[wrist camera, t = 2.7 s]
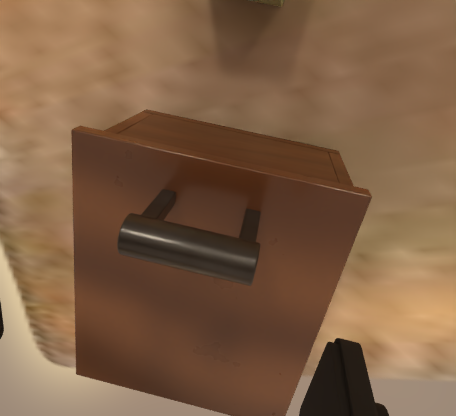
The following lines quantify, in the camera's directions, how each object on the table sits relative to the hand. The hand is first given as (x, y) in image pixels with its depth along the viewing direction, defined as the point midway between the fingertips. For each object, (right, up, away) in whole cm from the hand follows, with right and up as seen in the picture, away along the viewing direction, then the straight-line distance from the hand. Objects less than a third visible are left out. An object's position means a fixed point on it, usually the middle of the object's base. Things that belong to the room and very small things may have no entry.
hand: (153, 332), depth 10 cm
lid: (0, -1, +10) cm, 10 cm away
